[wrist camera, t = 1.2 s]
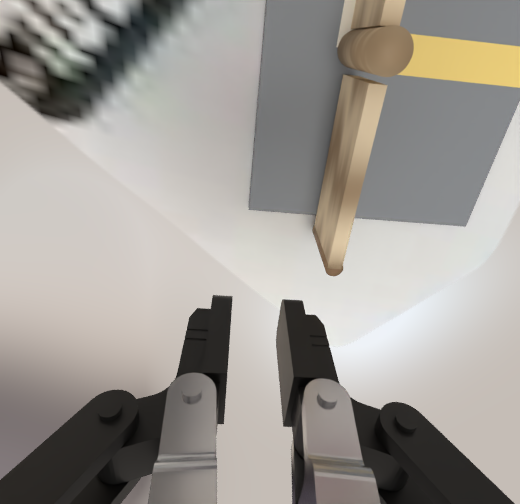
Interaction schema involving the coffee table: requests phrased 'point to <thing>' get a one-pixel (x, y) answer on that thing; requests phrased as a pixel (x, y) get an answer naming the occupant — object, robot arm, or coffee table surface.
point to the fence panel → (346, 166)
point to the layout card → (388, 108)
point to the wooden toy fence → (377, 39)
